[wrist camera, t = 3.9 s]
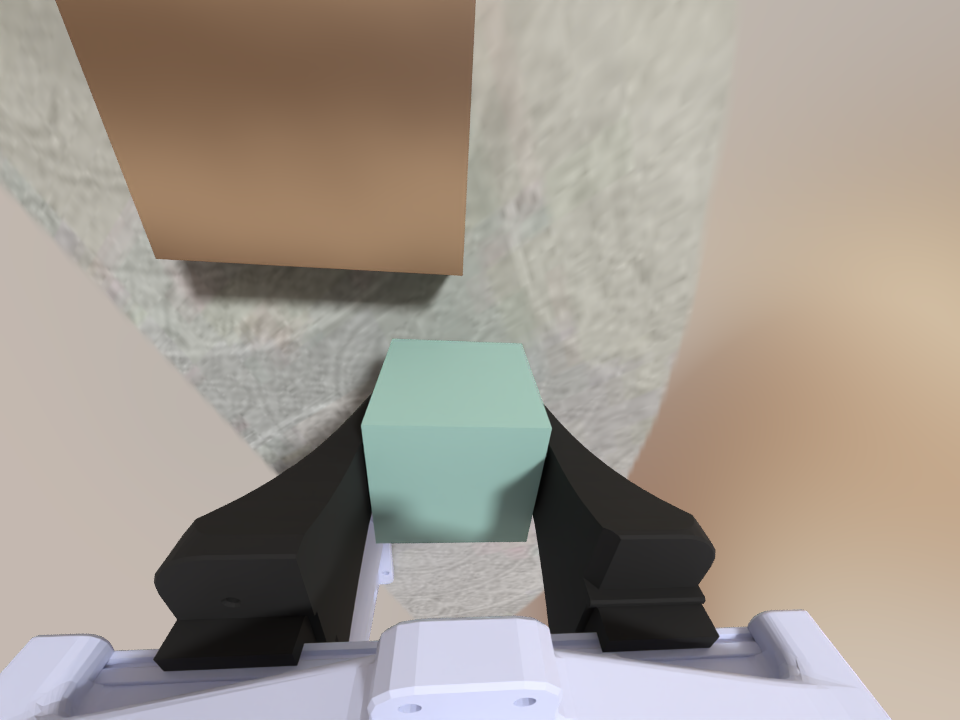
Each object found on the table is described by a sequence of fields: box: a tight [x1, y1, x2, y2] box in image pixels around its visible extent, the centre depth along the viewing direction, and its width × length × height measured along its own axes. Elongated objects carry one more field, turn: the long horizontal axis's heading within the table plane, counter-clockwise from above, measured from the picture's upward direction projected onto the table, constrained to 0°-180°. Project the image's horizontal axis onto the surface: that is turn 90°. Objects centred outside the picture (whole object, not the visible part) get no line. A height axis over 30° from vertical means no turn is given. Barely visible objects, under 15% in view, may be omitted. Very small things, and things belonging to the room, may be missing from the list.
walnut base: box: [55, 0, 476, 276], centre depth 10 cm, size 10×10×3 cm
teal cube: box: [361, 339, 552, 544], centre depth 12 cm, size 5×5×5 cm
